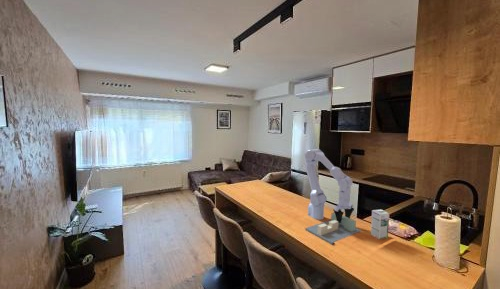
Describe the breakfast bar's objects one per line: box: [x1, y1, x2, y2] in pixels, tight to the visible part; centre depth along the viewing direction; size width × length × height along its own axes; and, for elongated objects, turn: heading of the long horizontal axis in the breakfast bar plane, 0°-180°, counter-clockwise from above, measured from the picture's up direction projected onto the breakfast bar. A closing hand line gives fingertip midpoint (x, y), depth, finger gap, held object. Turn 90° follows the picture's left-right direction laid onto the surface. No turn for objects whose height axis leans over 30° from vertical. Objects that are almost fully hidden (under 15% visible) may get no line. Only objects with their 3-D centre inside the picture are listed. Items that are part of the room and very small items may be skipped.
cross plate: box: [330, 212, 357, 232], centre depth 131 cm, size 14×3×6 cm, turn 32°
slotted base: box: [304, 219, 363, 245], centre depth 127 cm, size 18×26×6 cm
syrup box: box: [370, 209, 390, 240], centre depth 120 cm, size 6×6×14 cm
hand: (343, 220), depth 131 cm, fingers open, 7 cm apart
